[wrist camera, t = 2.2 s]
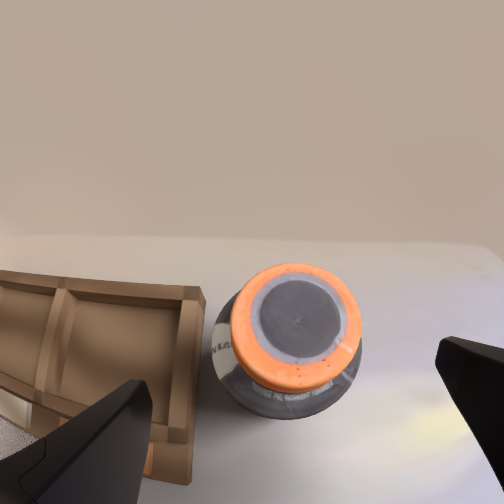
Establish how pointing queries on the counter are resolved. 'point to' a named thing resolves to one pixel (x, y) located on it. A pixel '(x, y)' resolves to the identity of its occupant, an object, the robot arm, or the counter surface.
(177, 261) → the counter surface
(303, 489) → the counter surface
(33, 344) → the socket frame
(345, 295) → the pill bottle
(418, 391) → the counter surface
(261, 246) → the counter surface
